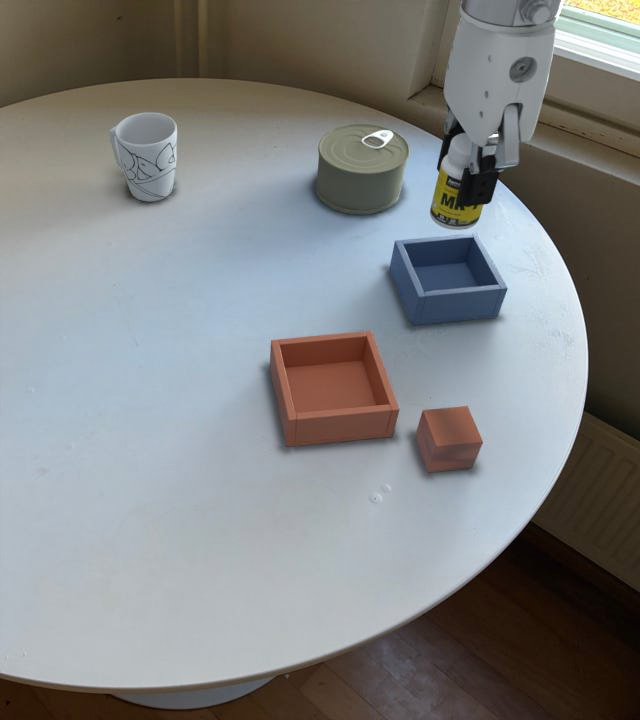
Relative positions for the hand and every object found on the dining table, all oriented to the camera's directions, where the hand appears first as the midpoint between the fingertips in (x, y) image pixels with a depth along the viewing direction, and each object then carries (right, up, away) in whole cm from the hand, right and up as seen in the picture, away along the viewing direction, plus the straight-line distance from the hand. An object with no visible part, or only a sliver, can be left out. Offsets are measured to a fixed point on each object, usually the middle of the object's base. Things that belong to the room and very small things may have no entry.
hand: (462, 185), depth 74 cm
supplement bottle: (0, -3, +3) cm, 4 cm away
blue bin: (+5, -9, +19) cm, 22 cm away
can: (-1, +7, +34) cm, 35 cm away
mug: (-32, +9, +39) cm, 51 cm away
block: (0, -26, +4) cm, 27 cm away
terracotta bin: (-11, -21, +9) cm, 26 cm away
